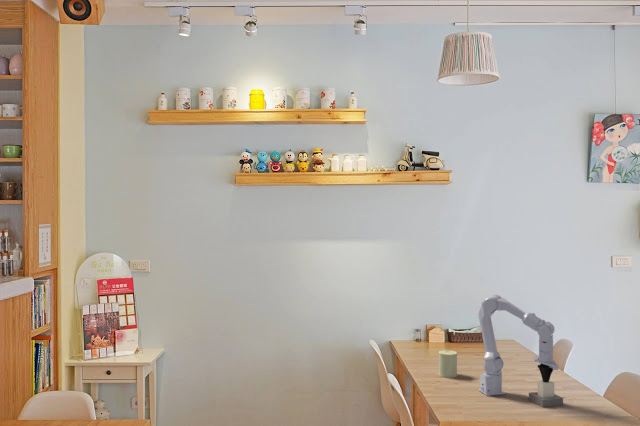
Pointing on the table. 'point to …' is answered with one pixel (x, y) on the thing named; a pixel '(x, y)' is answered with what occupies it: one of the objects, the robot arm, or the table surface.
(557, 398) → the socket
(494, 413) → the table surface
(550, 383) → the plug
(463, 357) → the table surface
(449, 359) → the can
